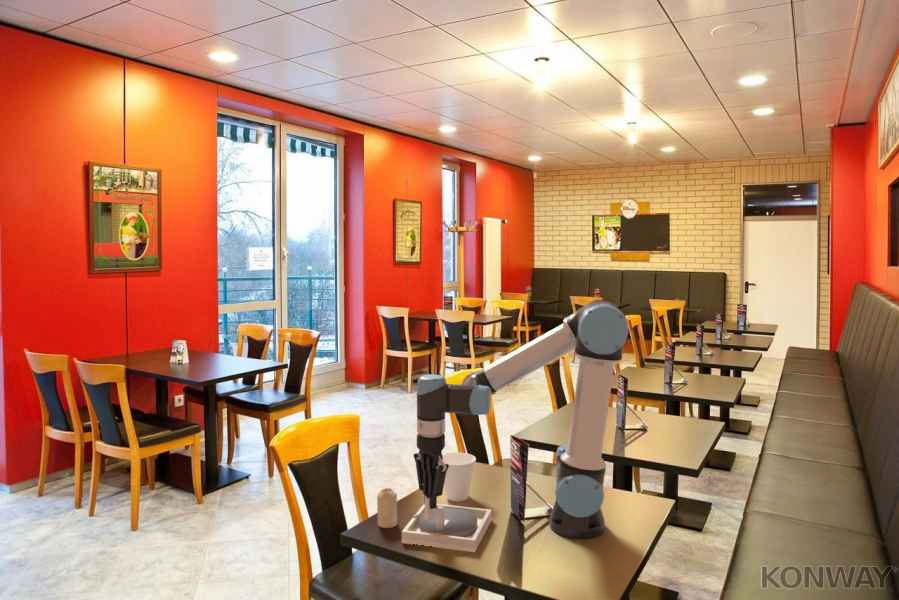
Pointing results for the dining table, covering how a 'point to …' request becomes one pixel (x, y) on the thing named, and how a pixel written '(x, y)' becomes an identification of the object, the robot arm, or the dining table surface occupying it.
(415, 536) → the dial plate
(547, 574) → the dining table surface
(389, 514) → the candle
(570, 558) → the dining table surface
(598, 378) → the robot arm
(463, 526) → the dial
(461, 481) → the cup
